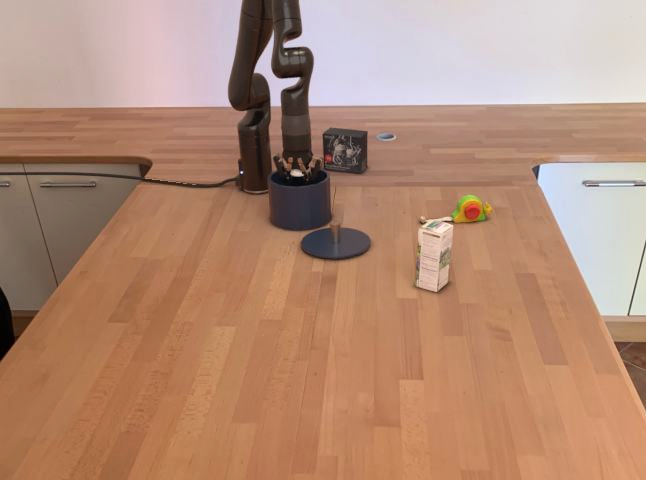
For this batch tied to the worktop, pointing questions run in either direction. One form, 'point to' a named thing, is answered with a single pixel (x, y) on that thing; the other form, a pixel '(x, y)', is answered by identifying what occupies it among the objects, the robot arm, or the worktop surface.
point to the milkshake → (297, 178)
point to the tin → (299, 202)
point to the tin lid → (335, 242)
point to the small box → (345, 150)
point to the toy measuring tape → (466, 211)
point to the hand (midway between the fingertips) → (299, 193)
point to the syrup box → (433, 255)
